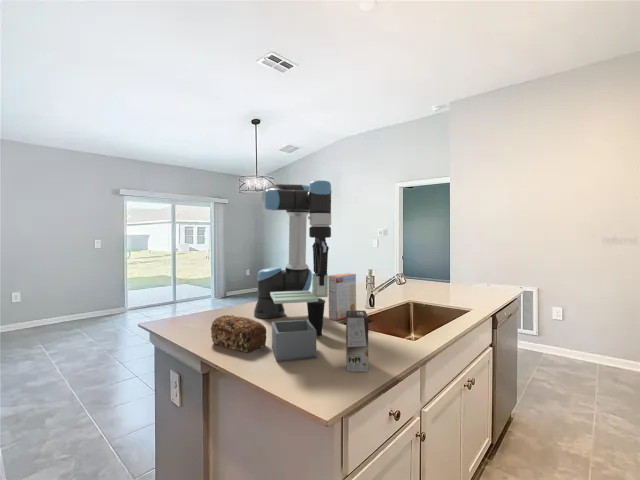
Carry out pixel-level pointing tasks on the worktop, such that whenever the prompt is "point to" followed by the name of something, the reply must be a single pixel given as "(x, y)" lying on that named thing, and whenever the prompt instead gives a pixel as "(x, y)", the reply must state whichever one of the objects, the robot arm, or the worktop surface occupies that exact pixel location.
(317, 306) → the drinking cup
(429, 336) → the worktop surface
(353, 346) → the coffee box
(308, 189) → the robot arm
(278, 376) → the worktop surface
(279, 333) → the tub
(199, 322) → the worktop surface
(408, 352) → the worktop surface
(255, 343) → the bread
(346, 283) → the cracker box
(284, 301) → the lid
